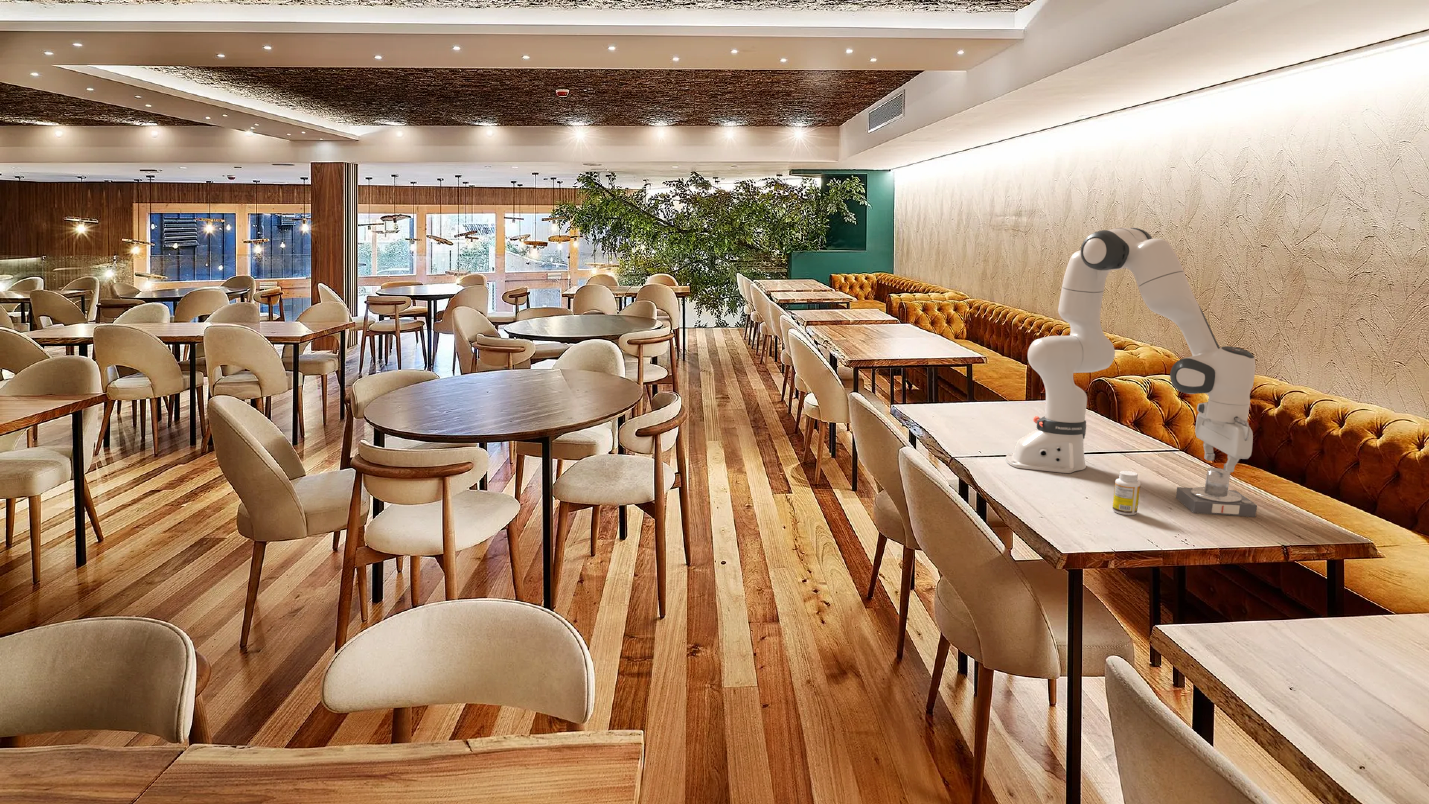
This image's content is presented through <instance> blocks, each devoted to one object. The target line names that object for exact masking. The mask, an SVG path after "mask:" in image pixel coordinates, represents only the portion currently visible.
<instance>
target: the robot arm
mask: <svg viewBox="0 0 1429 804" xmlns="http://www.w3.org/2000/svg"><path fill="white" fill-rule="evenodd" d="M1181 263H1182V262H1181V261H1180V260H1179V257H1178V256H1177V254H1176V251H1175V250H1174V249H1173V247H1172V245H1171V244H1170V243H1169V241H1167V240H1166V239H1164V238H1156V237H1155V238H1154V237H1152V236H1151V234H1150V233H1149V232H1147V231H1146V230H1145V229H1141V228H1138V227H1130V228H1128V227H1116V228H1115V227H1114V228H1112V229H1102V230H1098V231H1095V232H1093V233H1091V234H1089V235H1088V236H1087V237H1085V239H1084V240H1083V241H1082V244H1081V247H1080V250H1077V251H1075V252H1074V253H1072V255H1071V256H1070V258H1069V261H1068V263H1067V265H1066V269H1065V273H1064V274H1063V275H1064V276H1063V279H1062V284H1061V290H1060V296H1059V302H1058V308H1057V312H1058V315H1059V317H1060V318H1061V319H1062V320H1063V321H1064V322H1066V323H1068V324H1069V327H1070V329H1069V330H1070V333H1069V335H1049V336H1045V337H1041V338H1037V339H1034V340H1033V341H1032V342H1031V344H1030V345H1029V347H1028V350H1027V360H1028V364H1029V365H1030V366H1031V369H1033V370H1034V371H1035V372H1036V373H1037V374H1038V375H1039V376H1040V378H1041V380H1042V382H1043V385H1044V389H1045V410H1044V416H1042V417H1040V416H1038V415H1035V416H1034V417H1033V418H1032V420H1033V422H1034V423H1035V424H1036V428H1035V429H1034V430H1032V431H1030V432H1029V433H1027V434H1025V435H1024V436H1022V437H1020V438H1019V439H1018V440H1017V442H1016V444H1015V446H1014V451H1013V452H1011V453H1007V454H1006V455H1005V461H1006V463H1008V465H1010V466H1011V467H1013V468H1017V469H1026V470H1034V471H1043V472H1044V471H1045V472H1055V473H1063V474H1064V473H1065V474H1071V473H1073V472H1076V471H1083V470H1085V469H1086V468H1087V464H1086V459H1085V451H1084V449H1085V448H1084V441H1085V438H1086V437H1085V436H1086V434H1087V420H1086V412H1087V404H1088V403H1087V402H1088V396H1087V393H1086V391H1085V390H1083V388H1081V387H1079V386H1078V385H1076V384H1075V380H1074V374H1077V373H1078V374H1079V373H1080V374H1081V373H1082V374H1084V373H1087V374H1088V373H1095V372H1100V371H1103V370H1106V369H1109V368H1110V366H1111V365H1113V362H1114V359H1115V355H1116V350H1115V346H1114V344H1113V343H1112V341H1111V340H1110V339H1109V338H1108V337H1107V336H1106V335H1105V332H1104V331H1103V329H1102V324H1101V311H1102V304H1103V296H1104V292H1105V285H1106V280H1107V277H1108V275H1109V273H1110V272H1111V271H1118V270H1122V269H1123V270H1124V269H1127V270H1129V271H1130V272H1131V274H1132V275H1133V276H1134V279H1135V282H1136V286H1137V287H1138V290H1139V293H1140V297H1141V298H1142V301H1143V302H1144V304H1145V306H1146V307H1147V308H1148V310H1150V311H1151V312H1153V313H1155V314H1156V315H1160V316H1162V317H1164V318H1166V319H1169V320H1170V321H1171V322H1173V323H1174V324H1175V325H1176V326H1177V327H1178V328H1179V330H1180V331H1181V333H1182V335H1183V337H1184V339H1185V342H1186V344H1187V346H1188V349H1189V351H1190V353H1191V356H1187V357H1182V358H1181V359H1179V360H1177V361H1176V362H1174V363H1173V365H1172V367H1171V368H1170V369H1171V370H1170V374H1169V377H1170V381H1171V384H1172V385H1173V387H1174V388H1175V390H1177V391H1179V392H1181V393H1183V394H1187V395H1188V394H1189V395H1196V394H1198V395H1199V394H1206V395H1207V396H1208V399H1207V401H1206V402H1200V403H1198V404H1197V407H1196V411H1197V412H1198V413H1197V416H1196V422H1195V427H1194V428H1195V430H1194V432H1195V433H1194V434H1195V436H1196V438H1197V439H1199V440H1201V441H1202V442H1203V444H1202V446H1203V450H1204V451H1203V452H1204V457H1203V458H1204V459H1205V460H1206V461H1210V462H1212V461H1213V462H1214V460H1215V457H1216V454H1215V453H1214V448H1215V449H1217V450H1218V451H1221V452H1222V453H1224V454H1226V455H1227V457H1226V458H1227V461H1226V463H1224V464H1223V468H1222V469H1224V470H1225V471H1227V472H1230V473H1233V472H1235V469H1236V468H1235V466H1236V465H1237V464H1238V463H1239V461H1240V460H1241V459H1242V460H1249V458H1250V457H1252V452H1253V443H1254V442H1253V441H1254V440H1253V439H1254V438H1253V437H1254V435H1253V434H1254V433H1253V430H1252V429H1251V427H1250V425H1249V424H1250V423H1249V421H1248V418H1249V412H1250V411H1249V410H1250V407H1251V397H1250V395H1251V391H1252V389H1253V387H1254V382H1255V374H1256V357H1255V356H1254V354H1253V353H1252V352H1250V351H1249V350H1247V349H1245V348H1244V349H1243V348H1242V347H1241V348H1240V347H1237V346H1230V345H1229V346H1228V345H1225V346H1220V345H1219V344H1218V341H1217V338H1216V337H1215V335H1214V333H1213V330H1212V329H1211V327H1210V325H1209V322H1208V321H1207V318H1206V316H1205V314H1204V311H1203V310H1202V308H1201V306H1200V304H1199V303H1198V301H1197V299H1196V297H1195V295H1194V293H1193V291H1192V288H1191V285H1190V283H1189V281H1188V279H1187V277H1186V276H1187V275H1186V274H1185V271H1184V268H1183V265H1182V264H1181Z"/></svg>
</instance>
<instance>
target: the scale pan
mask: <svg viewBox="0 0 1429 804" xmlns="http://www.w3.org/2000/svg"><path fill="white" fill-rule="evenodd" d="M1192 488H1193V489H1191V494H1192V495H1194V496H1196V497H1198V498H1201V499H1205V500H1209V501H1214V502H1222V503H1236V502H1240V501H1241V500H1242V496H1241V495H1239V494H1237V493H1235V492H1232V491H1229V490H1230V489H1228V493H1227V496H1224V497H1219V496H1212V495H1209V494H1206V493H1205V492H1204V490H1205V486H1197V487H1192Z"/></svg>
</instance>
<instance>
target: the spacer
mask: <svg viewBox="0 0 1429 804" xmlns="http://www.w3.org/2000/svg"><path fill="white" fill-rule="evenodd" d="M1230 479H1231V472H1227V471H1225V470H1224V469H1223V468H1217V467H1209V468H1207V470H1206V477H1205V484H1204V487H1205V490H1204V492H1205V493H1206V494H1209V495H1212V496H1219V497H1224V496H1227V493H1228V490H1229V485H1230Z"/></svg>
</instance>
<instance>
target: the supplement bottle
mask: <svg viewBox="0 0 1429 804" xmlns="http://www.w3.org/2000/svg"><path fill="white" fill-rule="evenodd" d="M1118 477H1119V478H1116V479H1115V481H1114V482H1115V483H1114V491H1113V492H1114V493H1113V501H1112V510H1113V512H1115V513H1117V514H1118V515H1123V516H1135V515H1136V514H1137V513H1138V507H1139V498H1140V492H1141V491H1140V490H1141V482H1140V481H1139V480H1138V473H1137V472H1135V471H1131V470H1130V471H1129V470H1121V471H1119V476H1118Z"/></svg>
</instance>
